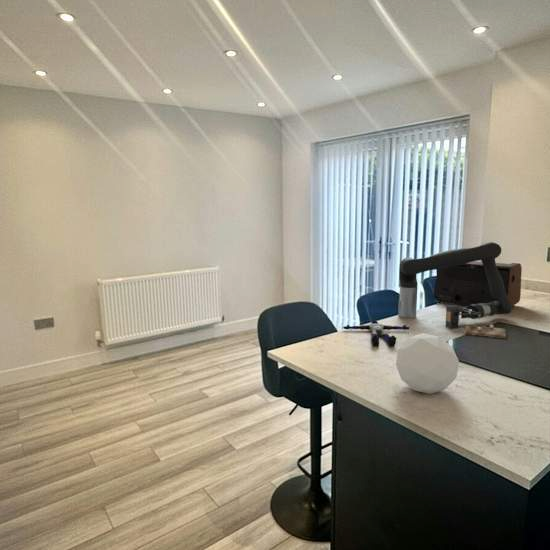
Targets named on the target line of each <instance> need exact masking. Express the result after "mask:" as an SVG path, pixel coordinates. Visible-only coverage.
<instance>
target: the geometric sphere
mask: <svg viewBox="0 0 550 550" xmlns="http://www.w3.org/2000/svg"><path fill="white" fill-rule="evenodd" d="M459 364H460V361H459V358H458V357H457V354H456V352H455V349H454V348H453V346H452V345H451V344H450V343H448V342H447V341H445V340H443V338H440V336H436V335H432V334H428V333H424V332H422V333H419V334H416V335H413V336H411V337H408V338H407V339H406V340H405V341H404V342H403V343H402V344H401V345H400V346H399V347H398V348H397V353H396V362H395V366H396V369H397V371H398V374H399V378H400V380H401V381H403V383H405V384H406V385H407V386H408V387H409V388H411V389H412V390H413V391H416V392H419V393H423V394H424V393H425V394H428V395H432V394H434V393H438V392H441V391H444V390H446V389H448V388H449V386H451V384H452V383H453V382H454V381H455V380H456V379H457V377H458V371H459V366H460V365H459Z"/></svg>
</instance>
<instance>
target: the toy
mask: <svg viewBox="0 0 550 550" xmlns="http://www.w3.org/2000/svg"><path fill="white" fill-rule="evenodd" d="M342 328H343V330H361V331H362V330H363V331H364V330H367V331H370V332H371V334H370V335H371V339H370V341H371V343H372V345H373V347H374V348H378V347H380V338H379V337H381V338H382V340H385V341H386V344H387V345H388V347H389V348H394V347H395V346H396V343H397V337H396V336H394V335H391V336H390V335H389V334H388V333H387V332H386V330H387V331H390V330H403V331H407V330H409V329H410V326H407V324H404V325H402V326H398V325H393V326H392V325H384V324H383V323H379V322H378V321H377V320H376V319H374V320H372V321H371V323H369V324H367V325H366V324H365V325H353V326H350V325H349V324H346V325H345V326H343V327H342Z"/></svg>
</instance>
